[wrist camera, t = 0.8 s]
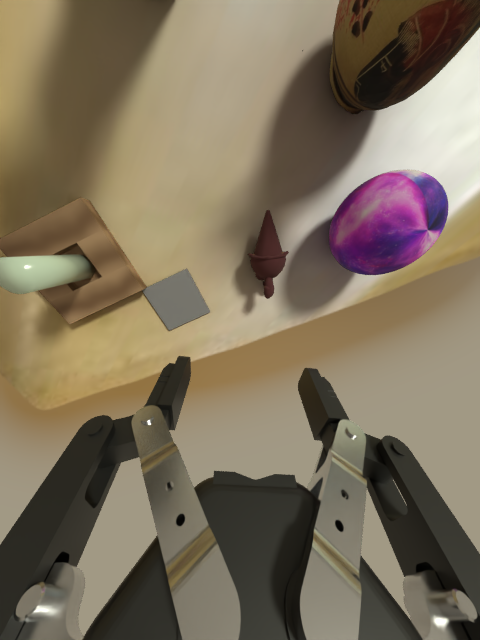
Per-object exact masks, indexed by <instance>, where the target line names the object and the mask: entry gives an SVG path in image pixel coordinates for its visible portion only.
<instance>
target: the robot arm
mask: <svg viewBox="0 0 480 640" xmlns="http://www.w3.org/2000/svg"><path fill="white" fill-rule="evenodd" d="M190 376H191V366H190V357H184V356H178V358H177V360H176V363H175V364H173V363H169V364H168V365H167V366H166V367H165V368H164V369H163V370H162V373H161V375H160V377H159V379H158V381H157V383H156V385H155V387H154V389H153V391H152V393H151V395H150V397H149V399H148V401H147V403H146V405H145V406H144V407H143V408H142V409H140V410H139V411H137V412H136V414H134V415H132V416H129V417H125V418H121V419H116V420H112V419H111V418H110V417H109V416H105V415H102V416H97V417H94V418H92V419H90V420H89V421H87V422H86V423H85V424H84V425H82V427H81V428H80V429H79V430H78V432H77V433H76V435H75V436H74V438H73V439H72V441H71V442H70V444H69V445H68V446H67V448H66V450H65V451H64V452H63V454H62V455H61V457H60V458H59V460H58V461H57V463H56V464H55V466H54V467H53V469H52V470H51V471H50V473H49V474H48V476H47V477H46V479H45V480H44V482H43V483H42V485H41V486H40V488H39V489H38V491H37V492H36V493H35V495H34V497H33V498H32V499H31V501H30V502H29V504H28V505H27V507H26V508H25V510H24V511H23V512H22V514H21V516H20V517H19V518H18V520H17V521H16V523H15V524H14V526H13V527H12V529H11V530H10V531H9V533H8V534H7V536H6V537H5V539H4V540H3V542H2V543H1V545H0V640H480V554H479V552H478V551H477V549H476V548H475V546H474V545H473V543H472V542H471V540H470V539H469V538H468V536H467V535H466V533H465V531H464V530H463V529H462V527H461V526H460V525H459V523H458V521H457V519H456V518H455V516H454V515H453V514H452V512H451V511H450V509H449V508H448V506H447V505H446V503H445V502H444V500H443V499H442V497H441V496H440V494H439V493H438V491H437V490H436V488H435V487H434V485H433V484H432V482H431V481H430V479H429V478H428V476H427V475H426V473H425V472H424V471H423V469H422V467H421V466H420V464H419V463H418V461H417V460H416V459H415V457H414V455H413V454H412V452H411V451H410V450H409V448H408V447H407V446H406V445H405V444H404V443H403V442H401V441H400V440H398V439H397V438H395V437H392V436H385V437H383V439H381V440H380V439H378V438H375V437H373V436H370V435H367V434H365V433H364V432H363V431H362V429H361V428H360V427H359V426H358V425H357V424H355V423H354V422H352V421H350V420H349V418H348V416H347V414H346V413H345V411H344V409H343V407H342V405H341V403H340V401H339V399H338V398H337V396H336V394H335V392H334V390H333V388H332V386H331V384H330V383H329V382H328V381H327V380H326V379H325V378H324V377H321V376H320V374H319V372H318V370H317V369H312V368H305V369H304V371H303V373H302V376H301V378H300V380H299V383H298V391H299V394H300V397H301V400H302V403H303V406H304V409H305V412H306V415H307V418H308V421H309V425H310V428H311V431H312V433H313V437H314V440H321V441H322V443H323V446H322V448H321V451H320V454H319V457H318V460H317V463H316V466H315V470H314V473H313V476H312V478H311V480H310V482H309V484H308V486H307V488H305V487H304V486H302V485H300V484H299V483H297V482H296V480H295V476H294V475H281V474H274V475H271V476H268V477H265V478H261V479H258V480H254V479H251V478H248V477H246V476H243V475H240V474H238V473H236V472H224V471H223V472H222V471H214V477H212V478H208V479H206V480H204V481H202V482H201V483H199V484H198V485H197V486H196V487H193V485H192V482H191V480H190V477H189V475H188V472H187V470H186V467H185V465H184V462H183V460H182V458H181V455H180V453H179V450H178V448H177V446H176V445H175V444H174V442H173V439H172V437H171V434H170V432H169V430H175V428H176V424H177V421H178V418H179V415H180V411H181V408H182V405H183V401H184V398H185V395H186V391H187V388H188V385H189V381H190ZM137 457H140V461H141V468H142V472H143V476H144V481H145V485H146V489H147V493H148V497H149V501H150V505H151V510H152V514H153V518H154V522H155V525H156V530H157V534H158V535H157V536H156V538H155V539H154V541H153V542H152V543H151V545H150V546H149V547H148V549H147V550H146V551H145V553H144V554H143V555H142V557H141V558H140V559H139V560H138V562H137V563H136V564H135V566H134V567H133V569H132V570H131V571H130V572H129V574H128V575H127V576H126V578H125V579H124V581H123V582H122V583H121V585H120V586H119V587H118V589H117V590H116V591H115V593H114V594H113V595H112V597H111V598H110V599H109V601H108V602H107V603H106V605H105V606H104V607H103V609H102V610H101V611H100V613H99V614H98V616H97V617H96V618H95V620H94V621H93V623H92V624H91V626H90V628H89V629H88V631H87V632H86V634H85V636H83V635H82V633H81V632H80V629H79V624H78V615H79V608H80V604H81V601H82V597H83V594H84V588H85V577H84V574H83V572H82V571H81V570H80V569H79V568H77V565H78V562H79V560H80V558H81V555H82V553H83V551H84V548H85V546H86V544H87V541H88V539H89V536H90V534H91V532H92V529H93V527H94V525H95V522H96V520H97V517H98V515H99V513H100V511H101V508H102V506H103V503H104V501H105V499H106V496H107V494H108V492H109V489H110V487H111V485H112V482H113V480H114V478H115V475H116V473H117V471H118V468H119V466H120V463H121V462H124V461H128V460H131V459H134V458H137ZM393 479H394V481H395V483H396V485H397V487H398V489H399V490H400V492H401V494H402V496H403V498H404V500H405V502H406V504H407V506H406V504H405V502H404V500H403V498H402V497H401V495H400V493H399V491H398V489H397V487H396V485H395V483H394V481H393ZM367 488H368V491H369V493H370V496H371V498H372V501H373V503H374V505H375V508H376V510H377V513H378V515H379V517H380V519H381V522H382V524H383V527H384V529H385V531H386V534H387V536H388V538H389V541H390V544H391V546H392V548H393V551H394V553H395V555H396V558H397V560H398V562H399V565H400V567H401V570H402V572H403V575H404V577H405V578H404V581H403V590H404V595H405V596H404V604H405V607H406V609H407V611H408V613H409V615H410V618H411V620H410V619H409V618H408V616H407V615H406V614H405V612H404V611H403V610H402V609H401V607H400V606H399V605H398V603H397V602H396V601H395V599H394V598H393V597H392V596H391V594H390V593H389V592H388V590H387V589H386V588H385V586H384V585H383V584H382V583H381V581H380V580H379V579H378V577H377V576H376V575H375V573H374V572H373V571H372V569H371V568H370V567H369V565H368V564H367V563H366V562H365V560H364V559H363V558H362V556H361V545H362V534H363V523H364V512H365V501H366V490H367Z"/></svg>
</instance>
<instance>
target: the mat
mask: <svg viewBox="0 0 480 640" xmlns="http://www.w3.org/2000/svg"><path fill="white" fill-rule="evenodd" d="M142 291H143V293H144V294H145V296H146V297H147V299H148V300H149V302H150V303H151V305H152V306H153V307H154V309H155V310H156V312H157V313H158V315H159V316H160V318H161V319H162V321H163V322H164V324H165V325H166V327H167V328H168V330H169V331H170V330H172V329H174V328H176V327H178V326H181V325H183V324H185V323H187V322H189V321H191V320H194V319H196V318H198V317H200V316H202V315H205V314H207V313H209V312H210V310H209V308H208V306H207V305H206V303H205V301H204V299H203V297H202V295H201V294H200V292H199V290H198V288H197V286H196V284H195V282H194V281H193V279H192V277H191V275H190V273H189V271H188V269H185V270H183V271H181V272H178V273H176V274H174V275H172V276H170V277H168V278H166V279H164V280H162V281H159V282H157V283H155V284H153V285H151V286H149V287H147V288H145V289H143V290H142Z"/></svg>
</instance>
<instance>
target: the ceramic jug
mask: <svg viewBox="0 0 480 640" xmlns="http://www.w3.org/2000/svg"><path fill="white" fill-rule="evenodd" d="M479 28H480V0H340V1H339V5H338V8H337V14H336V20H335V26H334V32H333V52H332V55H331V64H330V83H331V86H332V89H333V92H334V95H335V99H336V101H337V102H338V104H340V105H341V106H342V107H343V108H344V109H345V110H347V111H349V112H351V113H352V114H358V113H360V112H361V111H363V110H380V109H384V108H387V107H389V106H391V105H394V104H397V103H399V102H401V101H403V100H405V99H407V98H408V97H410V96H411V95H413V94H414V93H416V92H417V91H418V90H420V89H421V88H422V87H423V86H425V85H426V84H427V83H428V82H429V81H430V80H431V79H433V78H434V77H435V76H436V75H437V74H438V73H439V72H440V71H441V70H442V69H443V68H444V67H445V66H446V65H447V64H448V62H449V61H450V60H451V59H452V58H453V57H454V56H455V55H456V54H457V53H458V52H459V51H460V50H461V48H462V47H463V46H464V45H465V44H466V43H467V42H468V41H469V40H470V38H471V37H472V36H473V35H474V34H475V33H476V31H477V30H478V29H479ZM302 51H303V50H302Z"/></svg>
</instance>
